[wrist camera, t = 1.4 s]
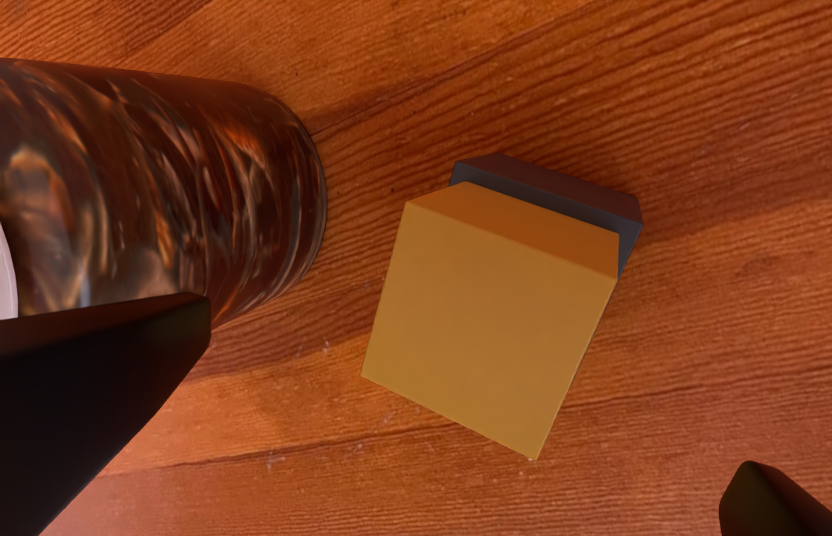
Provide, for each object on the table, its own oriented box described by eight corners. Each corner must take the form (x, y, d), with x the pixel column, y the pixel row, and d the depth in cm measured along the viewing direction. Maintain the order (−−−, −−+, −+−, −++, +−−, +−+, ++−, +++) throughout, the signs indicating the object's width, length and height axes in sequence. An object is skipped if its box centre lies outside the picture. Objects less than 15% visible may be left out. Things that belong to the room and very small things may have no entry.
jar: (135, 98, 28) (-308, 72, 15) (312, 67, 24) (-93, -12, 10) (178, 299, 31) (-163, 431, 18) (344, 305, 26) (57, 487, 13)
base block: (638, 197, 20) (644, 223, 15) (581, 327, 22) (568, 391, 17) (496, 152, 22) (455, 160, 16) (456, 277, 24) (408, 320, 18)
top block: (620, 233, 15) (618, 279, 10) (559, 372, 17) (536, 462, 12) (464, 180, 16) (404, 200, 12) (424, 314, 18) (358, 376, 14)
